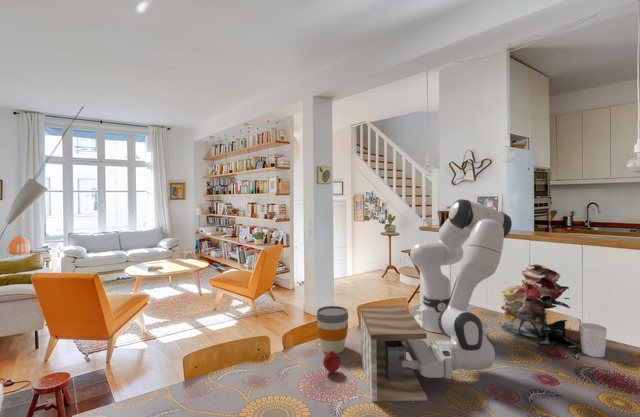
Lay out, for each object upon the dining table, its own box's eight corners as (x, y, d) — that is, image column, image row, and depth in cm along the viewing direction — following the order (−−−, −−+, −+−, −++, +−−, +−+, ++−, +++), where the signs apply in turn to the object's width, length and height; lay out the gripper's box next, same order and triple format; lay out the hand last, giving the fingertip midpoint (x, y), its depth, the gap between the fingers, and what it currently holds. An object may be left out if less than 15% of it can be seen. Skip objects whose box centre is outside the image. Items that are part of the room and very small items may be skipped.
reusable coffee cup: (326, 358, 127) (325, 318, 127) (311, 346, 138) (310, 308, 138) (355, 351, 133) (354, 312, 132) (338, 339, 144) (337, 304, 144)
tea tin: (385, 373, 113) (384, 340, 113) (401, 373, 113) (400, 340, 113) (388, 382, 108) (387, 347, 108) (404, 381, 108) (404, 347, 108)
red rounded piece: (342, 369, 118) (342, 346, 118) (337, 378, 113) (337, 354, 113) (326, 367, 120) (326, 344, 120) (321, 375, 115) (320, 351, 115)
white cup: (611, 359, 123) (611, 331, 122) (586, 357, 124) (586, 330, 124) (598, 349, 130) (598, 323, 130) (575, 348, 132) (575, 322, 132)
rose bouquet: (548, 323, 159) (548, 258, 158) (590, 350, 130) (590, 271, 129) (490, 321, 162) (489, 258, 161) (518, 348, 133) (518, 271, 132)
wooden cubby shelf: (361, 359, 125) (360, 306, 125) (405, 359, 125) (404, 305, 125) (371, 401, 99) (370, 334, 99) (427, 400, 99) (426, 333, 99)
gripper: (431, 333, 121) (391, 333, 121) (453, 360, 100) (405, 361, 100) (431, 351, 121) (391, 351, 121) (453, 381, 100) (406, 382, 100)
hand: (398, 356), depth 110 cm, fingers open, 8 cm apart
